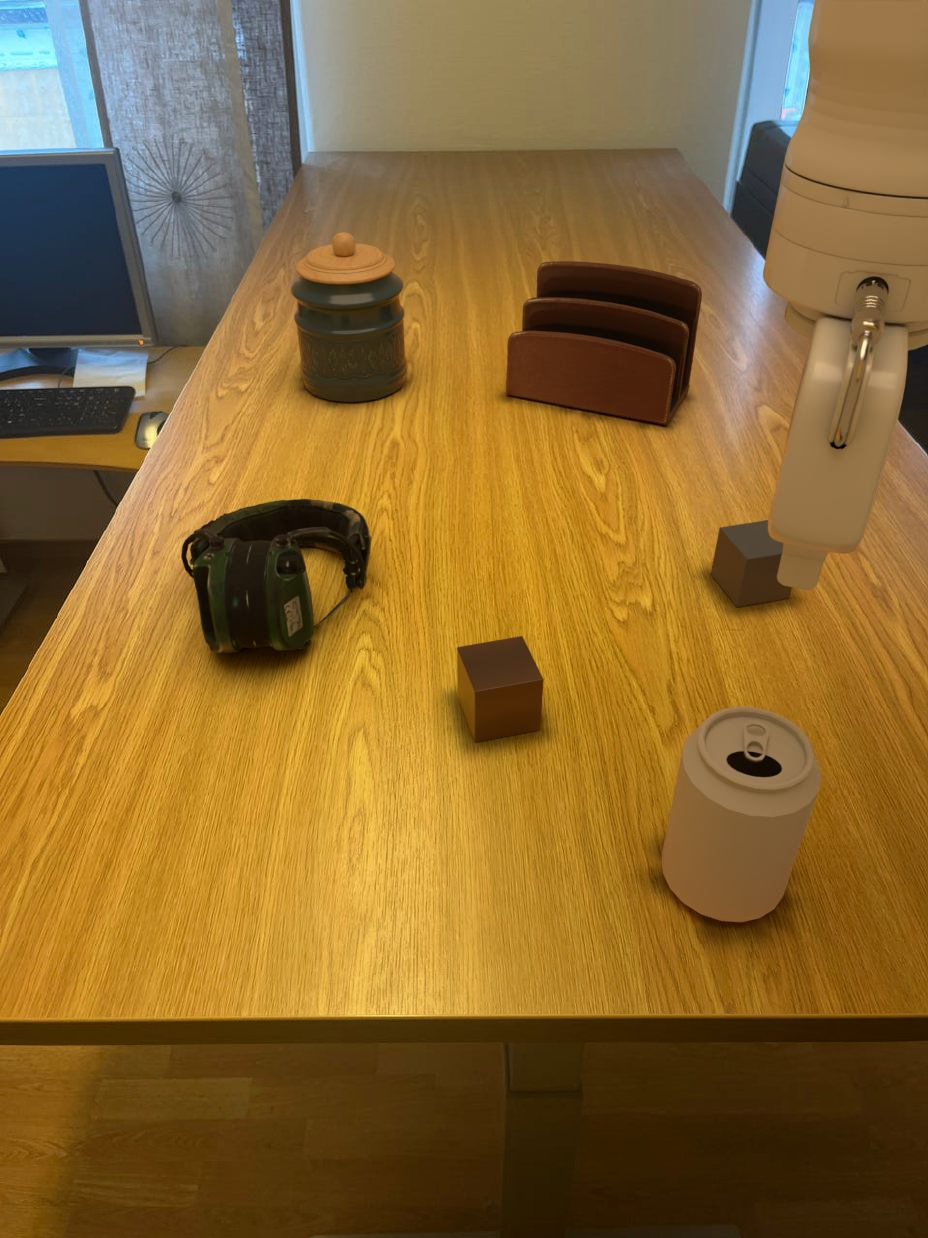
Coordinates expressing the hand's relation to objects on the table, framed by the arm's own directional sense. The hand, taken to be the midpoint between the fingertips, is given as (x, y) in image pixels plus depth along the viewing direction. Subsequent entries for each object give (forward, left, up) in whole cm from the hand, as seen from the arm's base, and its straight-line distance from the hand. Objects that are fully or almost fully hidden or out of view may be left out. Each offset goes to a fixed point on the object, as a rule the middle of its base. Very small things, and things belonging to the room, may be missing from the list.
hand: (805, 528), depth 47 cm
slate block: (+21, -18, -23) cm, 36 cm away
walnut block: (+16, +9, -23) cm, 29 cm away
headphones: (+36, +20, -23) cm, 47 cm away
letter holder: (+60, -26, -23) cm, 69 cm away
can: (-3, +3, -23) cm, 24 cm away
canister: (+76, -1, -23) cm, 79 cm away
